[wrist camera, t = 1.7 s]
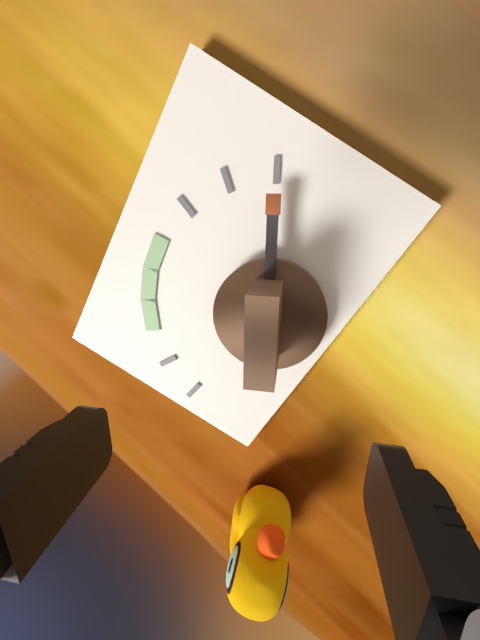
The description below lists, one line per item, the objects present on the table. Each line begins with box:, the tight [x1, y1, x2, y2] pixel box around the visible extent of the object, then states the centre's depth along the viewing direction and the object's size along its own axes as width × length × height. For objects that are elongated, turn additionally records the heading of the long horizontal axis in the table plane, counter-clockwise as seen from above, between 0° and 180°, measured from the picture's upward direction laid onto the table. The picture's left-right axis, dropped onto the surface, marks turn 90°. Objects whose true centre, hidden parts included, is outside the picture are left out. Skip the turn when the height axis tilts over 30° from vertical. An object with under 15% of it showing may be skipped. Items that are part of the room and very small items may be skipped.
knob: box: [213, 194, 328, 393], centre depth 19 cm, size 12×8×6 cm, turn 179°
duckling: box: [226, 485, 291, 621], centre depth 26 cm, size 11×5×10 cm, turn 165°
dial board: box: [72, 43, 441, 447], centre depth 23 cm, size 18×23×2 cm
